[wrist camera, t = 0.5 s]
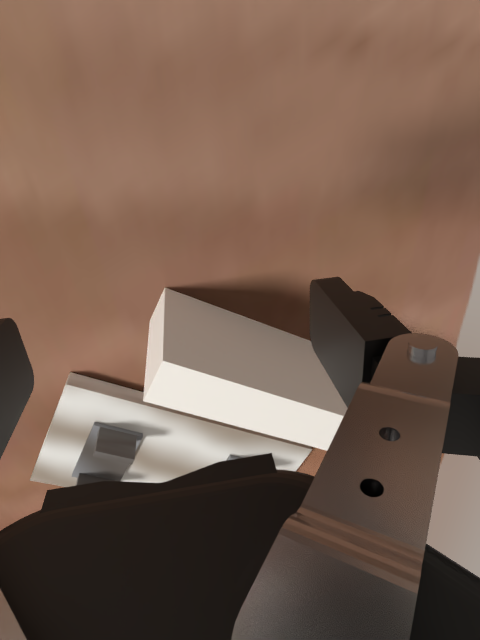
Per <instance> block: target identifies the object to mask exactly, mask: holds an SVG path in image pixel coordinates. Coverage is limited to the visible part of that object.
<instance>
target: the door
mask: <svg viewBox="0 0 480 640" xmlns="http://www.w3.org/2000/svg"><path fill="white" fill-rule="evenodd" d="M143 401H144V402H148V403H152V404H156V405H159V406H163V407H167V408H171V409H174V410H178V411H182V412H185V413H189V414H193V415H197V416H200V417H204V418H208V419H211V420H215V421H219V422H223V423H226V424H230V425H234V426H238V427H241V428H245V429H249V430H252V431H256V432H260V433H264V434H267V435H271V436H275V437H278V438H282V439H286V440H290V441H293V442H297V443H301V444H305V445H308V446H312V447H316V448H319V449H323V450H328V448H329V446H330V444H331V442H332V440H333V438H334V436H335V434H336V432H337V430H338V428H339V425H340V423H341V421H342V419H343V417H344V415H345V413H346V411H347V409H348V408H347V406H346V405H345V403H344V401H343V400H342V398H341V396H340V394H339V393H338V391H337V389H336V388H335V386H334V384H333V382H332V381H331V379H330V377H329V376H328V374H327V372H326V371H325V369H324V367H323V365H322V364H321V362H320V360H319V359H318V357H317V355H316V354H315V352H314V350H313V347H312V343H311V341H309V340H307V339H304V338H301V337H299V336H296V335H293V334H290V333H288V332H285V331H282V330H279V329H277V328H274V327H271V326H269V325H266V324H263V323H260V322H258V321H255V320H252V319H250V318H247V317H244V316H241V315H239V314H236V313H233V312H231V311H228V310H225V309H222V308H220V307H217V306H214V305H211V304H209V303H206V302H203V301H201V300H198V299H195V298H192V297H190V296H187V295H184V294H182V293H179V292H176V291H173V290H171V289H168V288H164V291H163V293H162V295H161V297H160V300H159V302H158V304H157V306H156V308H155V311H154V313H153V315H152V317H151V320H150V326H149V337H148V349H147V361H146V372H145V384H144V396H143Z"/></svg>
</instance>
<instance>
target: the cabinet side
mask: <svg viewBox="0 0 480 640" xmlns="http://www.w3.org/2000/svg"><path fill="white" fill-rule="evenodd" d="M143 396H144V392H141V391H137V390H134V389H130V388H126V387H123V386H119V385H116V384H112V383H108V382H105V381H101V380H97V379H94V378H90V377H87V376H83V375H79V374H76V373H72V372H70V374H69V376H68V379H67V382H66V384H65V387H64V390H63V392H62V395H61V398H60V400H59V403H58V406H57V408H56V411H55V414H54V416H53V419H52V422H51V424H50V427H49V430H48V432H47V435H46V438H45V440H44V443H43V446H42V448H41V451H40V454H39V456H38V459H37V462H36V464H35V467H34V470H33V473H32V476H31V479H30V480H31V481H36V482H41V483H47V484H52V485H57V486H63V487H70V486H76V485H82V484H88V483H94V482H100V481H122V482H147V483H162V482H166V481H169V480H172V479H175V478H177V477H180V476H182V475H185V474H188V473H190V472H193V471H196V470H198V469H201V468H204V467H206V466H209V465H212V464H214V463H217V462H221V461H227V460H233V459H239V458H245V457H251V456H257V455H263V454H269V453H272V456H273V459H274V463H275V466H276V469H278V470H289V471H296V470H297V469H298V468H299V466H300V465H301V464H302V462H303V461H304V460H305V458H306V457H307V456H308V454H309V453H310V452H311V450H312V448H311V446H308V445H305V444H301V443H297V442H293V441H290V440H286V439H282V438H278V437H275V436H271V435H267V434H264V433H260V432H256V431H252V430H249V429H245V428H241V427H238V426H234V425H230V424H226V423H223V422H219V421H215V420H211V419H208V418H204V417H200V416H197V415H193V414H189V413H185V412H182V411H178V410H174V409H171V408H167V407H163V406H159V405H156V404H152V403H148V402H144V401H143Z"/></svg>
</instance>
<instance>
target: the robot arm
mask: <svg viewBox="0 0 480 640" xmlns="http://www.w3.org/2000/svg"><path fill="white" fill-rule="evenodd" d="M310 338H311V343H312V347H313V350H314V352H315V354H316V355H317V357H318V359H319V360H320V362H321V364H322V365H323V367H324V369H325V371H326V372H327V374H328V376H329V377H330V379H331V381H332V382H333V384H334V386H335V388H336V389H337V391H338V393H339V394H340V396H341V398H342V400H343V401H344V403H345V405H346V406H347V408H348V409H347V411H346V413H345V415H344V417H343V419H342V421H341V423H340V425H339V428H338V430H337V432H336V434H335V436H334V438H333V440H332V442H331V444H330V446H329V448H328V450H327V452H326V454H325V457H324V459H323V461H322V463H321V465H320V467H319V469H318V471H317V473H316V475H315V477H314V476H311V475H308V474H304V473H300V472H296V471H289V470H278V469H276V466H275V463H274V459H273V456H272V453H269V454H263V455H257V456H251V457H245V458H239V459H233V460H227V461H221V462H217V463H214V464H212V465H209V466H206V467H204V468H201V469H198V470H196V471H193V472H190V473H188V474H185V475H182V476H180V477H177V478H175V479H172V480H169V481H166V482H162V483H147V482H122V481H100V482H94V483H88V484H82V485H76V486H70V487H64V488H58V489H52V490H47V493H46V496H45V499H44V503H43V506H42V509H41V510H40V511H37V512H35V513H32V514H30V515H28V516H26V517H24V518H22V519H20V520H18V521H16V522H14V523H13V524H11V525H9V526H7V527H6V528H4V529H3V530H1V531H0V640H480V578H479V577H478V576H476V575H474V574H473V573H471V572H470V571H468V570H467V569H465V568H463V567H462V566H460V565H459V564H457V563H456V562H454V561H452V560H451V559H449V558H448V557H446V556H445V555H443V554H442V553H440V552H438V551H437V550H435V549H434V548H432V547H431V546H429V545H428V544H426V540H427V534H428V529H429V523H430V517H431V512H432V506H433V500H434V494H435V488H436V483H437V477H438V472H439V466H440V460H441V455H442V453H446V454H457V455H469V456H477V457H478V458H479V460H480V358H470V357H469V358H468V357H458V351H457V349H456V348H455V347H454V346H453V345H452V344H451V343H449V342H448V341H446V340H444V339H441V338H439V337H436V336H432V335H427V334H419V333H411V332H410V331H409V330H408V329H407V328H406V327H405V326H404V325H403V324H402V323H401V322H400V321H399V320H398V319H397V318H395V317H394V316H393V315H391V313H390V312H389V311H388V310H387V309H386V308H384V306H383V305H382V304H381V303H380V302H379V301H377V300H376V299H375V298H374V297H372V296H370V295H367V294H365V293H363V292H360V291H355V292H354V291H353V290H352V289H351V288H350V287H349V286H348V285H347V284H346V283H345V282H344V281H343V280H342V279H341V278H340V277H332V278H324V279H317V280H312V282H311V285H310ZM33 386H34V375H33V370H32V367H31V364H30V361H29V358H28V355H27V353H26V350H25V347H24V344H23V341H22V339H21V336H20V333H19V330H18V328H17V325H16V323H15V322H14V321H13V320H12V319H11V318H4V319H0V458H1V456H2V454H3V452H4V450H5V448H6V446H7V444H8V441H9V439H10V437H11V435H12V433H13V431H14V429H15V427H16V425H17V422H18V420H19V418H20V416H21V414H22V412H23V410H24V408H25V406H26V403H27V401H28V399H29V397H30V395H31V393H32V390H33Z"/></svg>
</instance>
